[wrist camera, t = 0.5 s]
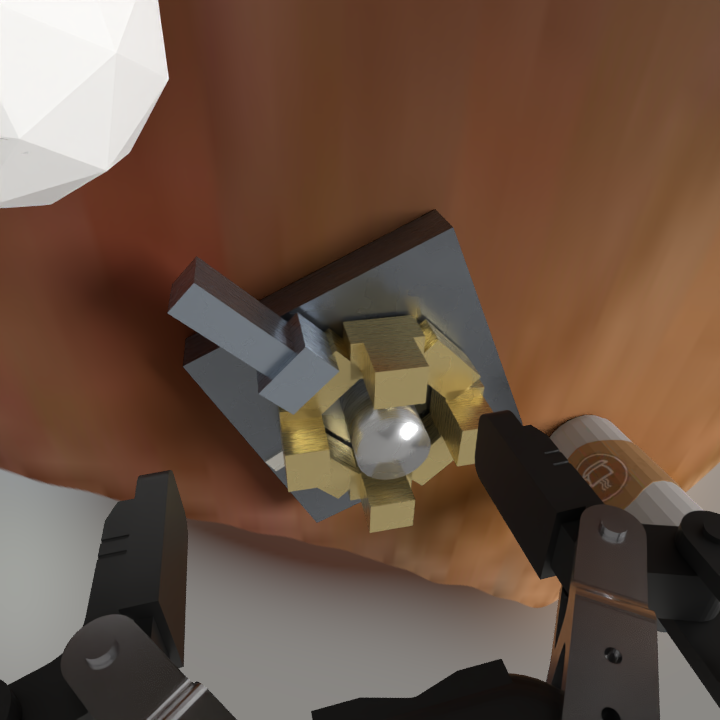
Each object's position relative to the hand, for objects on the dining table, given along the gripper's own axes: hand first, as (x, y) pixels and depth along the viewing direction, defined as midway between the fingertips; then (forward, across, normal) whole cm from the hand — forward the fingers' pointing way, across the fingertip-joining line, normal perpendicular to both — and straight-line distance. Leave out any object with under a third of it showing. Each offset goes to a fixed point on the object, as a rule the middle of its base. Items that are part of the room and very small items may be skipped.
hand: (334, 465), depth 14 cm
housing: (+20, -6, +11) cm, 23 cm away
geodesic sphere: (+20, +9, -11) cm, 24 cm away
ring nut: (+17, -3, +8) cm, 19 cm away
